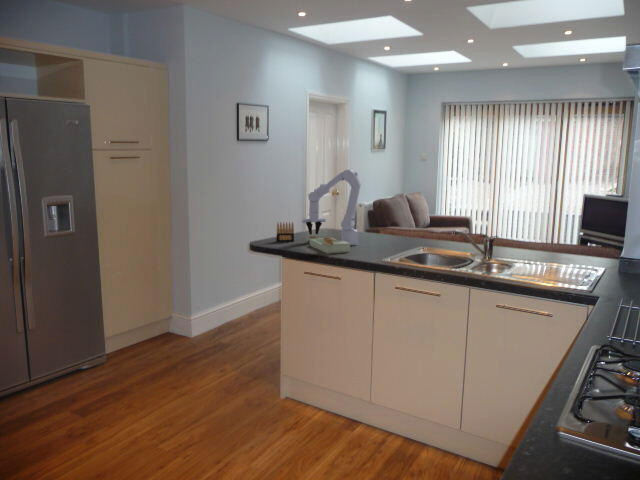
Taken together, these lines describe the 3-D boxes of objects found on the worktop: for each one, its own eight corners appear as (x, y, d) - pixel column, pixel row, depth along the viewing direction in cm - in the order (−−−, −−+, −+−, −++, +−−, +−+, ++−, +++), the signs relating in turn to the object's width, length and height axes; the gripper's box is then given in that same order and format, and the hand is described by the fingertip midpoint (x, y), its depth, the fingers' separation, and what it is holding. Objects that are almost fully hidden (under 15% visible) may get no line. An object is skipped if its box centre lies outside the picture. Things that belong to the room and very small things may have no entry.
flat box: (331, 244, 308) (331, 236, 307) (349, 252, 287) (350, 243, 286) (309, 245, 303) (309, 237, 302) (326, 253, 281) (326, 244, 280)
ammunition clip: (276, 242, 313) (276, 222, 310) (276, 241, 314) (276, 221, 312) (294, 241, 315) (294, 221, 313) (293, 241, 317) (293, 221, 314)
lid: (319, 240, 325) (319, 233, 324) (329, 245, 310) (330, 238, 310) (298, 242, 320) (298, 234, 319) (308, 247, 305) (308, 239, 304)
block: (328, 242, 285) (328, 237, 285) (333, 244, 280) (333, 239, 279) (323, 243, 284) (323, 237, 284) (328, 245, 279) (328, 239, 278)
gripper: (322, 210, 319) (321, 232, 321) (300, 211, 313) (299, 233, 315) (327, 212, 312) (326, 234, 315) (304, 212, 307) (304, 235, 309)
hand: (313, 234), depth 315 cm, fingers open, 3 cm apart
